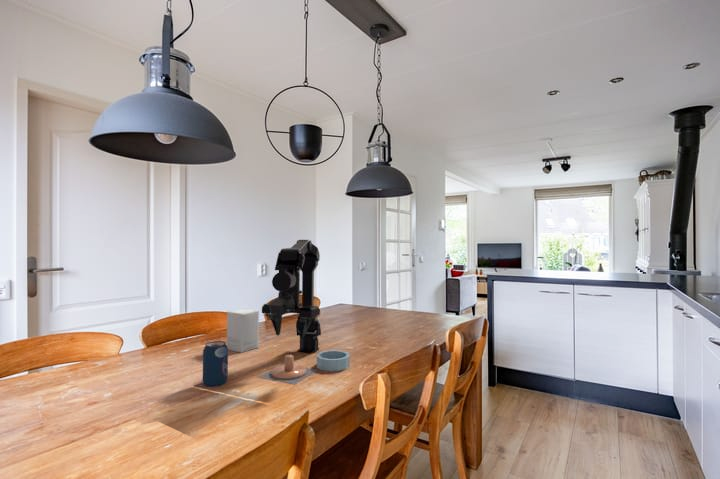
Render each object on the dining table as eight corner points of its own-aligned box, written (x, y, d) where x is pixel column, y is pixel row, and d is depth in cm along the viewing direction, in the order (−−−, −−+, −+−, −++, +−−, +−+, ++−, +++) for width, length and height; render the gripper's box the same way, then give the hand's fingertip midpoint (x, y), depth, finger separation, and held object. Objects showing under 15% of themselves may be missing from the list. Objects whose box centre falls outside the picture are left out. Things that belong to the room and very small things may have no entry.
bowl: (310, 369, 124) (310, 357, 124) (326, 360, 134) (327, 348, 134) (340, 374, 119) (340, 361, 119) (354, 364, 129) (354, 352, 129)
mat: (256, 378, 115) (256, 377, 115) (283, 365, 128) (283, 364, 128) (294, 385, 109) (294, 384, 109) (319, 371, 122) (319, 369, 122)
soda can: (229, 385, 109) (230, 344, 109) (204, 390, 105) (204, 347, 106) (225, 378, 115) (226, 339, 115) (201, 382, 111) (201, 342, 112)
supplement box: (259, 347, 149) (259, 310, 150) (241, 353, 142) (241, 313, 142) (244, 344, 154) (244, 308, 154) (225, 349, 147) (226, 311, 147)
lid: (263, 376, 116) (264, 358, 116) (284, 365, 126) (285, 349, 126) (293, 381, 111) (293, 363, 111) (312, 370, 121) (312, 353, 121)
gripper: (250, 288, 115) (249, 339, 115) (301, 292, 108) (301, 346, 108) (272, 285, 126) (272, 331, 125) (320, 288, 118) (320, 337, 118)
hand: (290, 336), depth 119 cm, fingers open, 9 cm apart
